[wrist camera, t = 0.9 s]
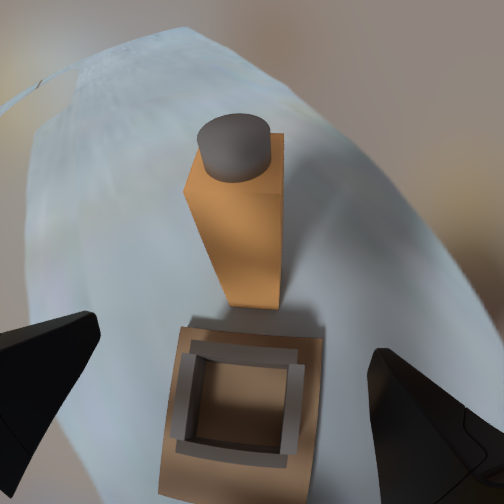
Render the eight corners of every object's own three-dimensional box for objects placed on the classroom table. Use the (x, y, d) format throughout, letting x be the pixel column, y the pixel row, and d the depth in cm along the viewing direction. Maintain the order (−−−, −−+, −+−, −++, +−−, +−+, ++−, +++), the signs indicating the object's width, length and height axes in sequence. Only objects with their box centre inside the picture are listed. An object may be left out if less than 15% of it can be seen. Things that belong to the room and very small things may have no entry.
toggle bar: (278, 310, 23) (280, 165, 10) (230, 306, 23) (173, 166, 10) (281, 266, 25) (283, 108, 12) (236, 264, 25) (198, 110, 12)
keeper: (302, 510, 14) (308, 530, 11) (163, 490, 15) (142, 503, 12) (319, 341, 21) (329, 328, 18) (185, 330, 23) (168, 314, 19)
